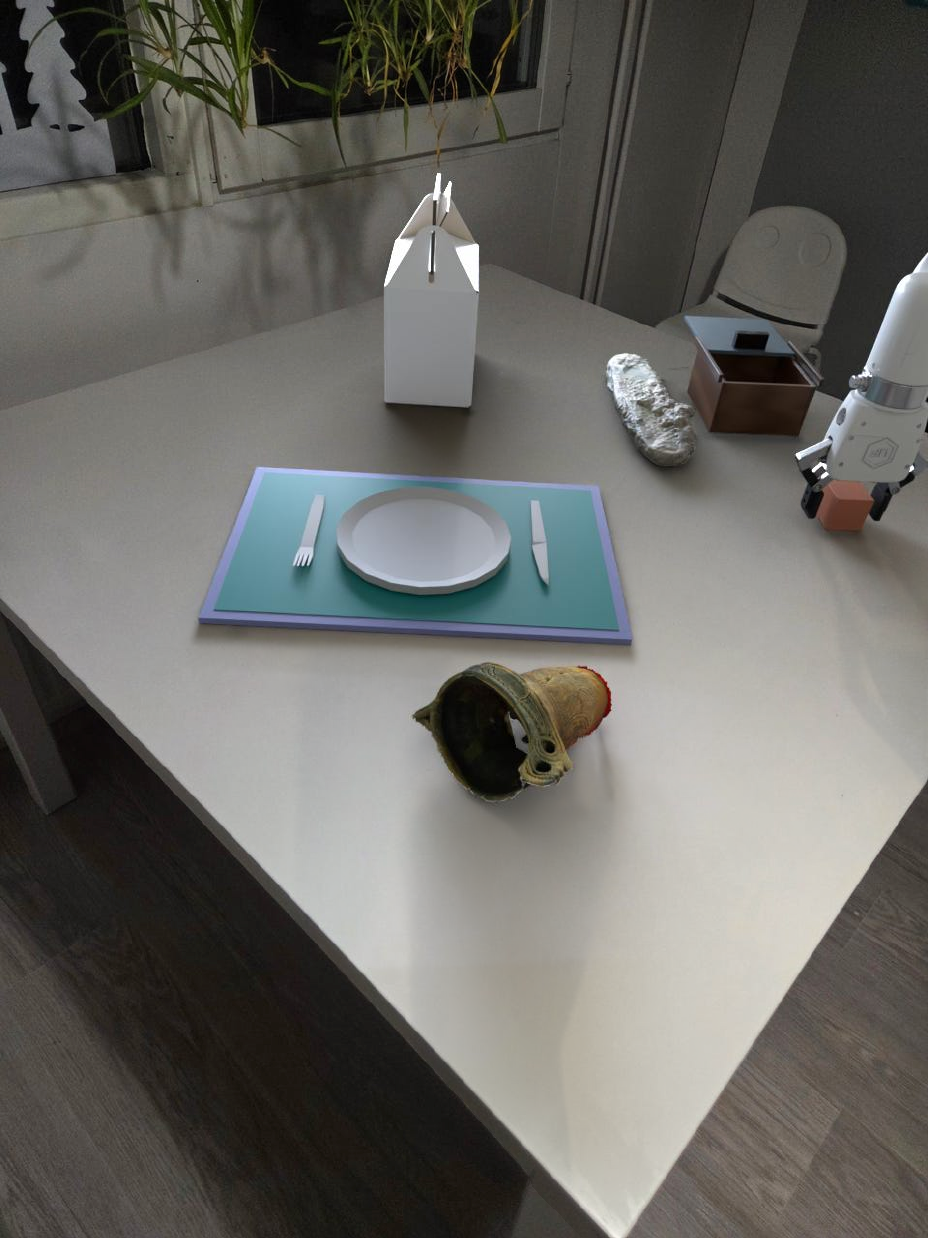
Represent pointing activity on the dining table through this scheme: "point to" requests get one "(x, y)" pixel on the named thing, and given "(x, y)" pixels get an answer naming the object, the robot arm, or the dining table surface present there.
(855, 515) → the block
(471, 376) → the gable box
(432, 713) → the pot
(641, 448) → the elongated rock
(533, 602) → the place mat
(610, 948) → the dining table surface
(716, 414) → the brown storage box
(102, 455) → the dining table surface
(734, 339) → the knobbed box lid
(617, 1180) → the dining table surface
